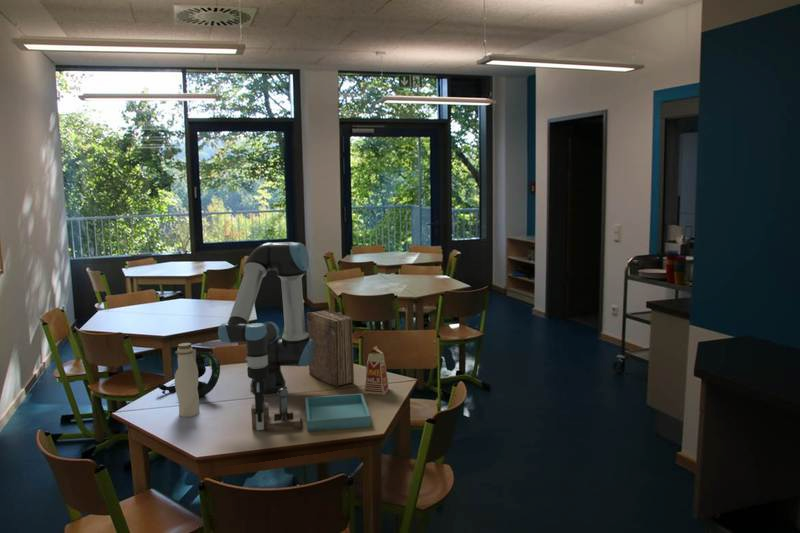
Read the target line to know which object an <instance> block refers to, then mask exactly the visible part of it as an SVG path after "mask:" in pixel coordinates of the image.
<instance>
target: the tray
mask: <svg viewBox="0 0 800 533" xmlns="http://www.w3.org/2000/svg"><path fill="white" fill-rule="evenodd" d="M304 400H305V414H306V427H307V432H308V433H309V432H319V431H320V432H321V431H322V432H323V431H332V430H344V429H354V428H356V429H357V428H366V427H367V428H368V427H372V425H371V424H372V422H371V420H372V417H371V413H370V411H369V407H368V405H367V403H366V400H365V396H364V392H363V393H348V394H337V395H336V394H335V395H325V396H323V395H321V396H311V397H305V398H304Z"/></svg>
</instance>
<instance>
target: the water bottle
mask: <svg viewBox="0 0 800 533" xmlns="http://www.w3.org/2000/svg"><path fill="white" fill-rule="evenodd" d="M174 353H175V354H176V355H177V369H176V372H175V373H174V383H175V384H174V386H175V389H176V391H175V394H176V396H177V401H178V415H179V416H180V417H183V418H189V417H190V418H191V417H194V416H197V415H199V414H200V399H199V398H200V396H198V390H197V388H198V381H199V378H198V368H197V365H196V355H197V349H196V348H195V349H194V348H193V346H192V343H191V342H182V343H179V344H178V345H177V350H176V351H175V352H174Z"/></svg>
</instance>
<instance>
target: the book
mask: <svg viewBox="0 0 800 533" xmlns="http://www.w3.org/2000/svg"><path fill="white" fill-rule="evenodd" d="M306 328H307V329H306V332H307V333H308V334H309V339H312V340H314V344H315V348H314V355H313V359H312V361H311V363H310V364H309V365H308V372H309V374H308V375H310V376H312V377H314V378H315V379H318V380H320V381H321V382H323V383H326V384H328V385H330V386H331V387H334V388H336V389H337V388H338V386H344V385H347V384H354V383H355V372H354V371H355V370H354V347H353V346H354V343H353V342H354V341H353V337H354V336H353V318H352V317H351V316H348V315H346V314H341V313H338V312H335V311H333V310H330V309H329V310H328V309H325V308H324V309H316V310H310V311H307V312H306Z"/></svg>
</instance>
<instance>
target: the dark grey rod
mask: <svg viewBox="0 0 800 533" xmlns="http://www.w3.org/2000/svg"><path fill="white" fill-rule="evenodd" d="M276 394H277V397H278V408H279V410H278V412H279V414H280V420H288V411H289V409H288V396H289V392H288V390H287V389H286V387H285V388H281V389H279V390H278V392H276Z"/></svg>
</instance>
